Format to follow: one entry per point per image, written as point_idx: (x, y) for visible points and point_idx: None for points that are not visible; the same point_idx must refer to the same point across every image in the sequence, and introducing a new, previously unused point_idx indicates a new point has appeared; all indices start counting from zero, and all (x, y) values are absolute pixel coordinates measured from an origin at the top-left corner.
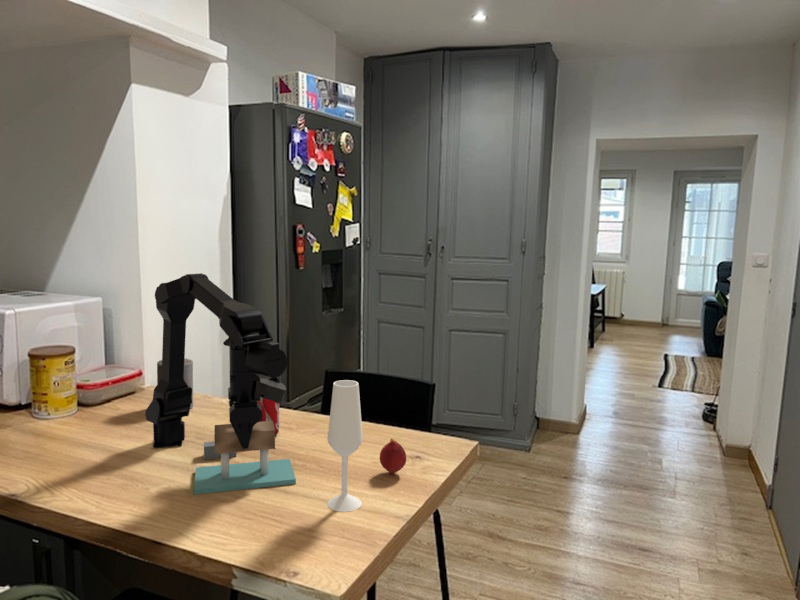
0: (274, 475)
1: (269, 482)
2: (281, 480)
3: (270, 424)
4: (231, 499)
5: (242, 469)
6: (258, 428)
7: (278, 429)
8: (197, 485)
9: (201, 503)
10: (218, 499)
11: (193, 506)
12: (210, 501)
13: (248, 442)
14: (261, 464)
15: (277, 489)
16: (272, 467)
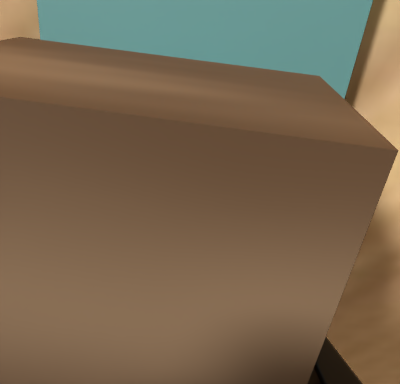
0: (271, 43)
1: (345, 91)
2: (365, 15)
3: (35, 156)
4: (376, 258)
5: None
6: (186, 341)
7: None
8: None
9: (348, 340)
10: (348, 294)
11: (357, 359)
12: (349, 317)
13: (350, 376)
14: None
15: (397, 50)
16: (151, 31)
